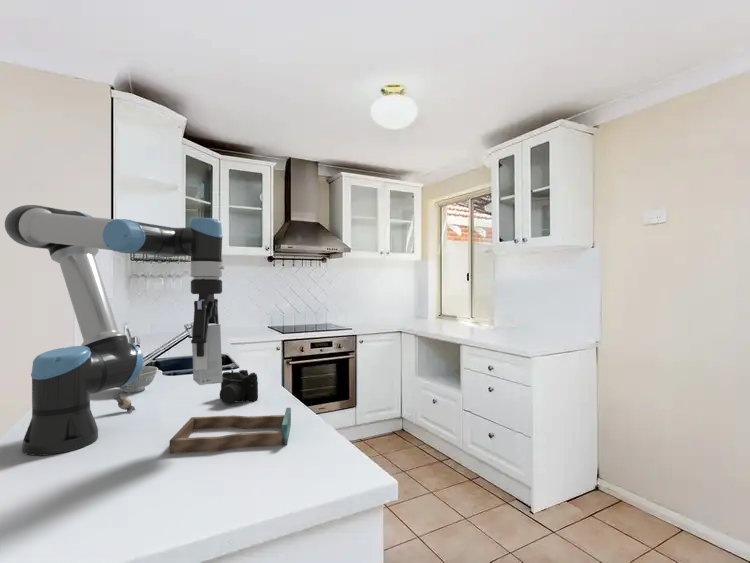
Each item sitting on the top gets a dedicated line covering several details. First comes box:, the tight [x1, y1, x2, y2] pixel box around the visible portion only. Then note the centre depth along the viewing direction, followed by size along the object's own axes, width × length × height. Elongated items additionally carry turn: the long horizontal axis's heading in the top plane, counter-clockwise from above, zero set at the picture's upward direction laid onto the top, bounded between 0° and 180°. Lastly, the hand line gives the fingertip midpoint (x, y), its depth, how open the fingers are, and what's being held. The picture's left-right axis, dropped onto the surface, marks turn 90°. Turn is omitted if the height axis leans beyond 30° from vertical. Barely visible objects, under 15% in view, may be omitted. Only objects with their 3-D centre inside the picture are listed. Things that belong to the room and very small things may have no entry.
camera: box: [219, 369, 259, 405], centre depth 143 cm, size 14×11×10 cm
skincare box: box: [191, 323, 223, 386], centre depth 108 cm, size 8×6×15 cm
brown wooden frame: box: [169, 407, 292, 454], centre depth 109 cm, size 27×17×5 cm, turn 98°
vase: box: [112, 393, 136, 414], centre depth 131 cm, size 5×5×6 cm
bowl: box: [118, 365, 159, 393], centre depth 158 cm, size 16×16×8 cm
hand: (206, 365), depth 108 cm, fingers closed on skincare box, 9 cm apart
